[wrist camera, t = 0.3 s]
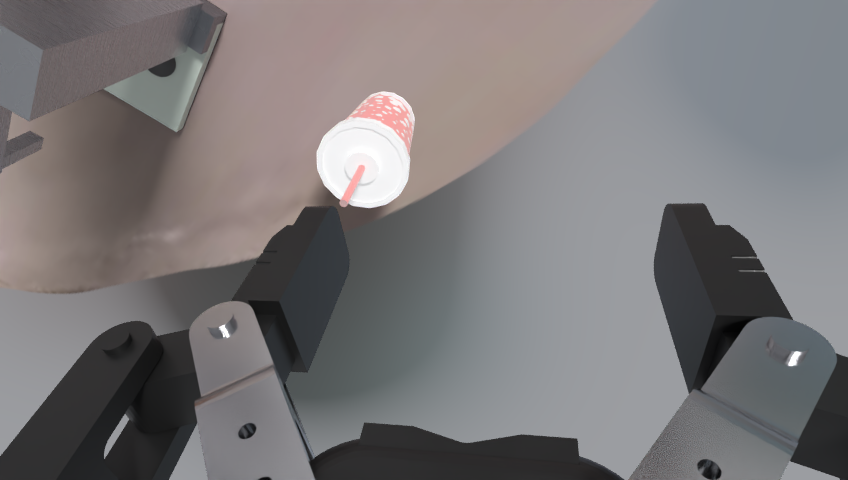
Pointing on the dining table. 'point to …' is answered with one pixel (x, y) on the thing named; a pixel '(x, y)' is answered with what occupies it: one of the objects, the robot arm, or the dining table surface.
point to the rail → (86, 52)
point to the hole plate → (166, 86)
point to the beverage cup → (368, 152)
